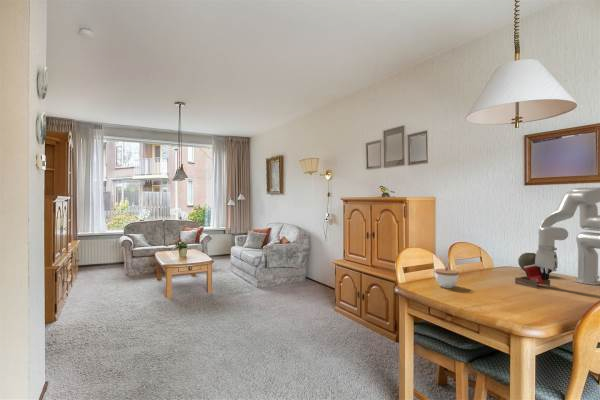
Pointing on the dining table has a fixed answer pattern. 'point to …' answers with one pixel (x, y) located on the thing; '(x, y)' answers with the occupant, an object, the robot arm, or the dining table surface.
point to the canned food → (534, 274)
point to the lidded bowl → (446, 277)
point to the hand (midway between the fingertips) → (545, 279)
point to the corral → (529, 282)
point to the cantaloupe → (526, 260)
